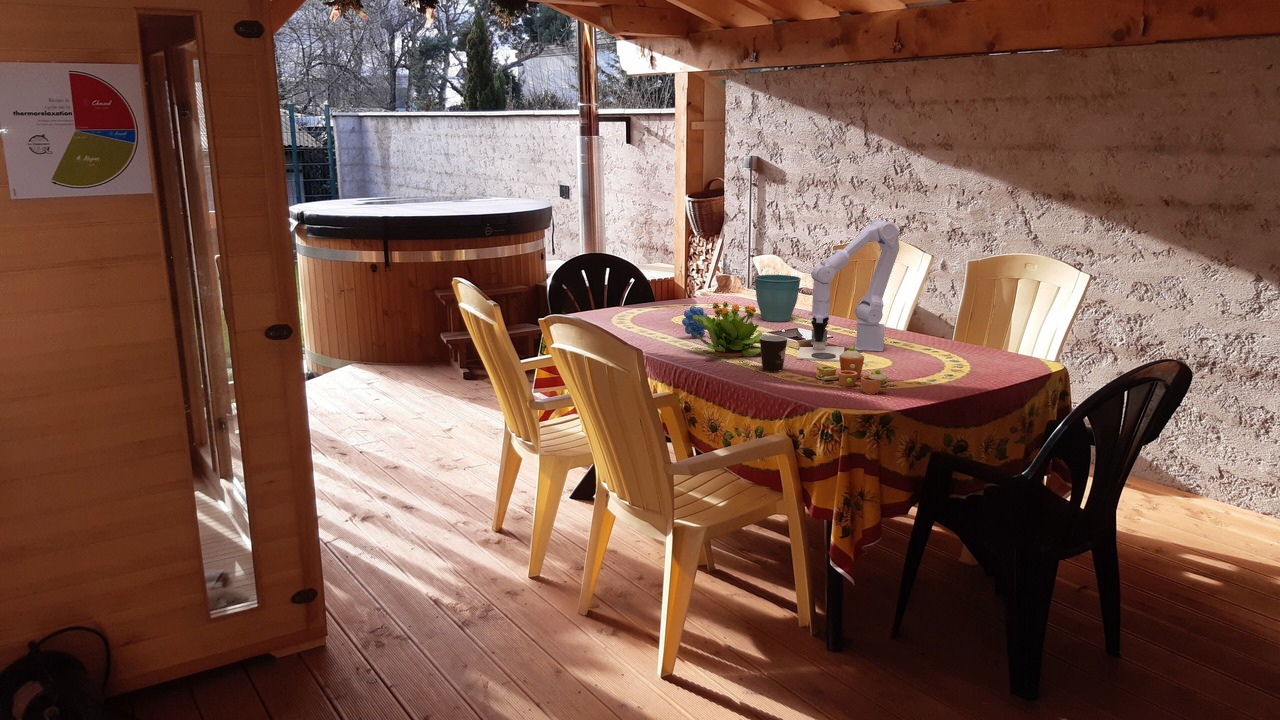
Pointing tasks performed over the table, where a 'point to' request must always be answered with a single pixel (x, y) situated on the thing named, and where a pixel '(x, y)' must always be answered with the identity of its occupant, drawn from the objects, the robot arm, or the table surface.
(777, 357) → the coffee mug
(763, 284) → the flower pot
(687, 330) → the grapes
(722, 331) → the potted flower
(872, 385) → the toy tea set
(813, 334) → the knob
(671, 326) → the table surface
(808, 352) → the board
